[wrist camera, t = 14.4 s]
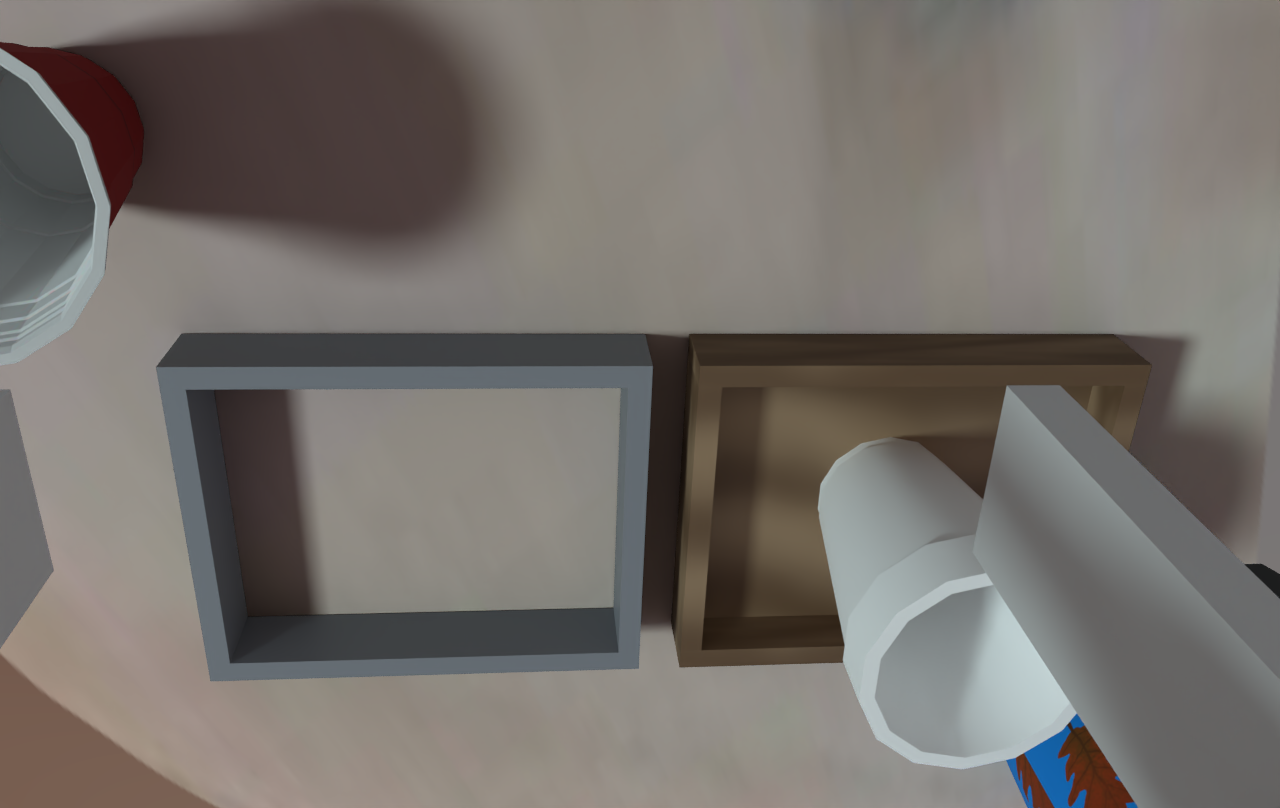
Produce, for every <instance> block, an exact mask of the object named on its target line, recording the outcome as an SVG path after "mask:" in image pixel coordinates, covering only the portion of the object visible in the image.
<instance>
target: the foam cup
mask: <svg viewBox="0 0 1280 808" xmlns="http://www.w3.org/2000/svg"><path fill="white" fill-rule="evenodd" d="M982 503H983V499H982V498H981V497H980V496H979V495H978V494H977V493H976V492H974V491H973V490H972V489H971V488H970V487H969V486H968V485H967V484H966V483H965V482H964V481H963V480H962V479H960V478H959V477H958V476H957V475H956V474H955V473H954V472H953V471H952V470H951V469H950V468H949V467H947V466H946V465H945V464H944V463H943V462H942V461H940V460H939V459H938V458H937V457H936V456H935V455H933V454H932V453H931V452H930V451H928V450H927V449H926V448H925V447H923V446H922V445H921V444H920V443H918V442H914V441H909V440H904V439H898V438H893V437H888V438H884V439H879V440H875V441H870V442H865V443H861V444H860V445H858V446H857V447H855V448H854V449H852V450H851V451H849V452H848V453H846V454H845V455H843V456H842V457H840V458H839V459H837V460H836V461H835V463H834V464H833V466H832V467H831V469H830V470H829V472H828V473H827V475H826V476H825V478H824V480H823V481H822V483H821V485H820V494H819V502H818V511H819V520H820V525H821V530H822V535H823V540H824V545H825V550H826V555H827V560H828V565H829V570H830V575H831V580H832V585H833V590H834V594H835V599H836V604H837V609H838V614H839V619H840V624H841V629H842V634H843V639H844V644H845V647H844V655H843V663H844V665H845V668H846V670H847V673H848V675H849V678H850V680H851V683H852V685H853V688H854V690H855V693H856V695H857V698H858V700H859V703H860V705H861V707H862V709H863V711H864V713H865V716H866V718H867V720H868V722H869V724H870V726H871V728H872V731H873V733H874V735H875V737H876V739H877V740H879V741H880V742H882V743H884V744H885V745H887V746H888V747H890V748H891V749H893V750H894V751H896V752H898V753H899V754H901V755H902V756H904V757H905V758H907V759H908V760H910V761H912V762H913V763H919V764H927V765H934V766H942V767H949V768H957V769H967V768H971V767H976V766H980V765H985V764H990V763H994V762H999V761H1003V760H1008V759H1013V758H1016V757H1018V756H1019V755H1021V754H1023V753H1025V752H1026V751H1028V750H1030V749H1031V748H1033V747H1035V746H1037V745H1038V744H1040V743H1042V742H1043V741H1045V740H1047V739H1049V738H1050V737H1052V736H1054V735H1055V734H1057V733H1059V732H1061V731H1062V730H1063V729H1064V728H1065V727H1066V725H1067V724H1068V723H1069V722H1070V721H1071V720H1072V718H1073V717H1074V716H1075V715H1076V714H1077V713H1076V711H1075V709H1074V708H1073V706H1072V705H1071V703H1070V702H1069V700H1068V699H1067V697H1066V696H1065V694H1064V692H1063V691H1062V689H1061V688H1060V686H1059V685H1058V683H1057V682H1056V680H1055V679H1054V677H1053V676H1052V674H1051V672H1050V671H1049V669H1048V668H1047V666H1046V665H1045V663H1044V662H1043V660H1042V659H1041V657H1040V656H1039V654H1038V652H1037V651H1036V649H1035V648H1034V646H1033V645H1032V643H1031V642H1030V640H1029V639H1028V637H1027V635H1026V634H1025V632H1024V631H1023V629H1022V628H1021V626H1020V625H1019V623H1018V622H1017V620H1016V619H1015V617H1014V615H1013V614H1012V612H1011V611H1010V609H1009V608H1008V606H1007V605H1006V603H1005V602H1004V600H1003V599H1002V597H1001V595H1000V594H999V592H998V591H997V589H996V588H995V586H994V585H993V583H992V582H991V580H990V578H989V577H988V575H987V574H986V572H985V571H984V569H983V568H982V566H981V565H980V563H979V562H978V560H977V558H976V557H975V555H974V554H973V547H974V542H975V537H976V532H977V527H978V523H979V518H980V513H981V508H982Z"/></svg>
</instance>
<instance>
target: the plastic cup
mask: <svg viewBox="0 0 1280 808" xmlns="http://www.w3.org/2000/svg"><path fill="white" fill-rule="evenodd" d="M143 139H144V129H143V126H142V123H141V120H140V117H139V114H138V111H137V108H136V105H135V102H134V100H133V99H132V98H131V96H130V95H129V94H128V93H127V91H126V90H125V89H124V88H123V86H122V85H121V84H120V82H119V81H118V80H117V79H116V77H115V76H114V75H112V74H111V73H109V72H107V71H106V70H104V69H103V68H101V67H100V66H98V65H97V64H95V63H94V62H92V61H90V60H89V59H87V58H85V57H83V56H81V55H77V54H73V53H69V52H65V51H61V50H56V49H52V48H48V47H27V46H23V45H19V44H14V43H3V42H0V365H6V364H12V363H18V362H19V361H21V360H22V359H24V358H25V357H27V356H29V355H30V354H32V353H33V352H35V351H37V350H38V349H40V348H41V347H43V346H44V345H46V344H48V343H49V342H51V341H52V340H54V339H56V338H57V337H59V336H60V335H62V334H63V333H65V332H67V331H68V330H70V329H71V328H72V327H73V325H74V323H75V322H76V320H77V318H78V317H79V315H80V313H81V312H82V310H83V309H84V307H85V305H86V304H87V302H88V300H89V299H90V297H91V295H92V294H93V292H94V291H95V289H96V287H97V286H98V284H99V282H100V281H101V279H102V277H103V276H104V273H105V269H106V258H107V246H108V235H109V228H110V226H111V225H112V223H113V221H114V219H115V217H116V215H117V213H118V212H119V210H120V208H121V206H122V204H123V202H124V200H125V199H126V197H127V195H128V193H129V191H130V189H131V187H132V183H133V178H134V176H135V174H136V172H137V170H138V169H139V167H140V165H141V163H142V152H143Z"/></svg>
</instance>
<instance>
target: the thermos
mask: <svg viewBox="0 0 1280 808" xmlns="http://www.w3.org/2000/svg"><path fill="white" fill-rule="evenodd" d="M1006 761H1007V763H1008V765H1009V768H1010V770H1011V772H1012V774H1013V776H1014V779H1015V781H1016V783H1017V785H1018V787H1019V790H1020V792H1021V794H1022V796H1023V799H1024V801H1025V803H1026V805H1027V807H1028V808H1138V806H1137V805H1136V803H1135V802H1134V800H1133V799H1132V797H1131V796H1130V794H1129V793H1128V791H1127V790H1126V788H1125V786H1124V785H1123V783H1122V782H1121V780H1120V779H1119V777H1118V776H1117V774H1116V773H1115V771H1114V770H1113V768H1112V766H1111V765H1110V763H1109V762H1108V760H1107V759H1106V757H1105V756H1104V754H1103V753H1102V751H1101V749H1100V748H1099V746H1098V745H1097V743H1096V742H1095V740H1094V739H1093V737H1092V736H1091V734H1090V733H1089V731H1088V729H1087V728H1086V726H1085V725H1084V723H1083V722H1082V720H1081V719H1080V717H1079V716H1078V714H1076V715H1075V716H1074V717H1073V718H1072V720H1071V721H1070V722H1069V723H1068V724H1067V725H1066V727H1065V728H1064V729H1063V730H1062V731H1061V732H1059V733H1057V734H1055V735H1054V736H1052V737H1050V738H1049V739H1047V740H1045V741H1043V742H1042V743H1040V744H1038V745H1037V746H1035V747H1033V748H1031V749H1030V750H1028V751H1026V752H1025V753H1023V754H1021V755H1019V756H1018V757H1016V758H1013V759H1008V760H1006Z"/></svg>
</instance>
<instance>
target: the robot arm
mask: <svg viewBox="0 0 1280 808" xmlns="http://www.w3.org/2000/svg"><path fill="white" fill-rule="evenodd" d="M973 554H974V555H975V557H976V558H977V560H978V562H979V563H980V565H981V566H982V568H983V569H984V571H985V572H986V574H987V575H988V577H989V578H990V580H991V582H992V583H993V585H994V586H995V588H996V589H997V591H998V592H999V594H1000V595H1001V597H1002V599H1003V600H1004V602H1005V603H1006V605H1007V606H1008V608H1009V609H1010V611H1011V612H1012V614H1013V615H1014V617H1015V619H1016V620H1017V622H1018V623H1019V625H1020V626H1021V628H1022V629H1023V631H1024V632H1025V634H1026V635H1027V637H1028V639H1029V640H1030V642H1031V643H1032V645H1033V646H1034V648H1035V649H1036V651H1037V652H1038V654H1039V656H1040V657H1041V659H1042V660H1043V662H1044V663H1045V665H1046V666H1047V668H1048V669H1049V671H1050V672H1051V674H1052V676H1053V677H1054V679H1055V680H1056V682H1057V683H1058V685H1059V686H1060V688H1061V689H1062V691H1063V692H1064V694H1065V696H1066V697H1067V699H1068V700H1069V702H1070V703H1071V705H1072V706H1073V708H1074V709H1075V711H1076V713H1077V714H1078V716H1079V717H1080V719H1081V720H1082V722H1083V723H1084V725H1085V726H1086V728H1087V729H1088V731H1089V733H1090V734H1091V736H1092V737H1093V739H1094V740H1095V742H1096V743H1097V745H1098V746H1099V748H1100V749H1101V751H1102V753H1103V754H1104V756H1105V757H1106V759H1107V760H1108V762H1109V763H1110V765H1111V766H1112V768H1113V770H1114V771H1115V773H1116V774H1117V776H1118V777H1119V779H1120V780H1121V782H1122V783H1123V785H1124V786H1125V788H1126V790H1127V791H1128V793H1129V794H1130V796H1131V797H1132V799H1133V800H1134V802H1135V803H1136V805H1137V806H1138V808H1280V574H1278V573H1277V572H1275V571H1273V570H1272V569H1270V568H1268V567H1266V566H1264V565H1263V564H1243V563H1242V562H1241V561H1240V560H1239V559H1238V558H1237V557H1236V556H1235V555H1234V554H1233V553H1232V552H1231V551H1230V550H1229V549H1228V548H1227V547H1226V546H1225V545H1224V544H1223V543H1222V542H1221V541H1220V540H1219V539H1218V538H1217V537H1216V536H1215V535H1214V534H1213V533H1211V532H1210V531H1209V530H1208V529H1207V528H1206V527H1205V526H1204V525H1203V524H1202V523H1201V522H1200V521H1199V520H1198V519H1197V518H1196V517H1195V516H1194V515H1193V514H1192V513H1191V512H1190V511H1189V510H1188V509H1187V508H1186V507H1185V506H1184V505H1183V504H1182V503H1181V502H1180V501H1178V500H1177V499H1176V498H1175V497H1174V496H1173V495H1172V494H1171V493H1170V492H1169V491H1168V490H1167V489H1166V488H1165V487H1164V486H1163V485H1162V484H1161V483H1160V482H1159V481H1158V480H1157V479H1156V478H1155V477H1154V476H1153V475H1152V474H1151V473H1150V472H1149V471H1148V470H1147V469H1146V468H1144V467H1143V466H1142V465H1141V464H1140V463H1139V462H1138V461H1137V460H1136V459H1135V458H1134V457H1133V456H1132V455H1131V454H1130V453H1129V452H1128V451H1127V450H1126V449H1125V448H1124V447H1123V446H1122V445H1121V444H1120V443H1119V442H1118V441H1117V440H1116V439H1115V438H1114V437H1113V436H1112V435H1110V434H1109V433H1108V432H1107V431H1106V430H1105V429H1104V428H1103V427H1102V426H1101V425H1100V424H1099V423H1098V422H1097V421H1096V420H1095V419H1094V418H1093V417H1092V416H1091V415H1090V414H1089V413H1088V412H1087V411H1086V410H1085V409H1084V408H1083V407H1082V406H1081V405H1080V404H1079V403H1078V402H1076V401H1075V400H1074V399H1073V398H1072V397H1071V396H1070V395H1069V394H1068V393H1067V392H1066V391H1065V390H1064V389H1063V388H1062V387H1061V386H1060V385H1007V387H1006V392H1005V397H1004V401H1003V406H1002V411H1001V416H1000V421H999V426H998V431H997V435H996V440H995V445H994V450H993V455H992V460H991V464H990V469H989V474H988V479H987V484H986V489H985V494H984V498H983V503H982V508H981V513H980V518H979V523H978V527H977V532H976V537H975V542H974V547H973ZM53 571H54V569H53V565H52V561H51V557H50V553H49V549H48V544H47V540H46V536H45V532H44V528H43V524H42V520H41V515H40V511H39V507H38V503H37V499H36V495H35V490H34V486H33V482H32V478H31V474H30V470H29V466H28V461H27V457H26V453H25V449H24V445H23V441H22V436H21V432H20V428H19V424H18V420H17V416H16V412H15V407H14V403H13V399H12V395H11V391H10V390H0V648H1V647H2V645H3V644H4V642H5V641H6V639H7V638H8V636H9V635H10V633H11V632H12V631H13V629H14V628H15V626H16V625H17V623H18V622H19V620H20V619H21V617H22V616H23V614H24V613H25V612H26V610H27V609H28V607H29V606H30V604H31V603H32V601H33V600H34V598H35V597H36V595H37V594H38V593H39V591H40V590H41V588H42V587H43V585H44V584H45V582H46V581H47V579H48V578H49V576H50V575H51V574H52V572H53Z"/></svg>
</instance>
